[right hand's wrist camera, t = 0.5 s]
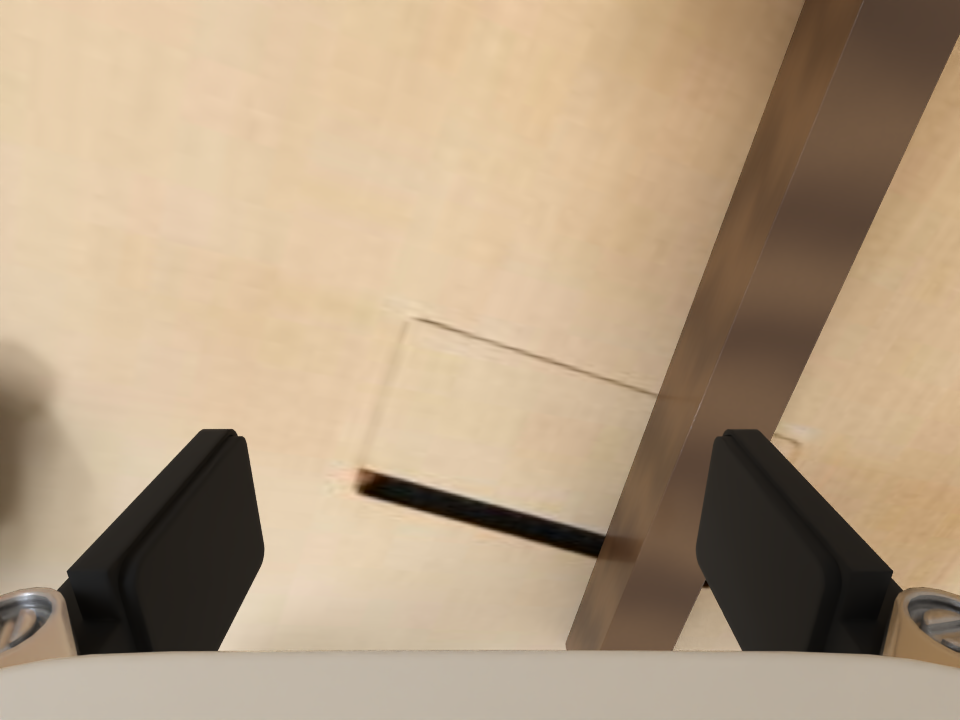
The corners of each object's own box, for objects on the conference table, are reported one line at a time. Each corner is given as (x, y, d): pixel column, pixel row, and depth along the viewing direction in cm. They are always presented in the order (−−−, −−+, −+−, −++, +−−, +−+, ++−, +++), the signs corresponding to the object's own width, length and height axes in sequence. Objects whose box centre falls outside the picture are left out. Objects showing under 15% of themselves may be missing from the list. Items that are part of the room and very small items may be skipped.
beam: (1116, -836, 23) (1339, -1177, 17) (1233, -786, 24) (1490, -1102, 18) (565, 643, 52) (576, 709, 46) (622, 653, 53) (640, 719, 47)
